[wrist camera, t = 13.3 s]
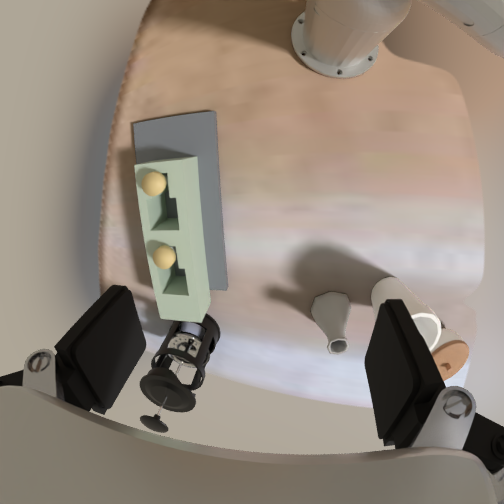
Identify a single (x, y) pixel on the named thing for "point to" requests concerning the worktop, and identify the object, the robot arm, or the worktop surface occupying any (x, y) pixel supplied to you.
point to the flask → (332, 319)
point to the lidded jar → (449, 353)
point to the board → (206, 149)
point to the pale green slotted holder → (176, 239)
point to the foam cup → (417, 309)
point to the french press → (166, 382)
